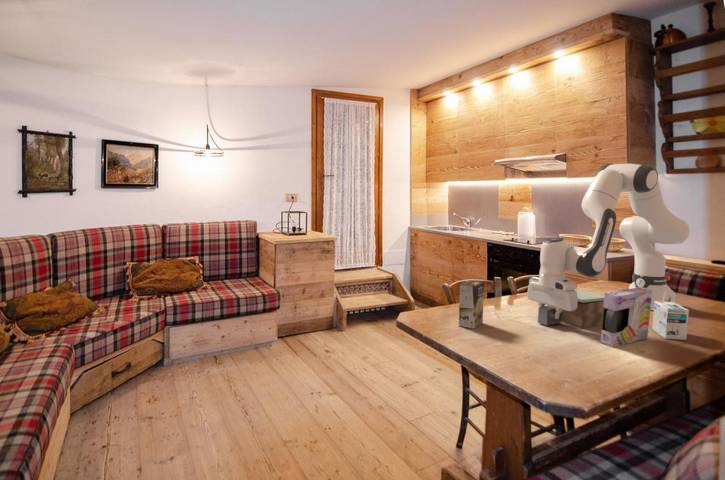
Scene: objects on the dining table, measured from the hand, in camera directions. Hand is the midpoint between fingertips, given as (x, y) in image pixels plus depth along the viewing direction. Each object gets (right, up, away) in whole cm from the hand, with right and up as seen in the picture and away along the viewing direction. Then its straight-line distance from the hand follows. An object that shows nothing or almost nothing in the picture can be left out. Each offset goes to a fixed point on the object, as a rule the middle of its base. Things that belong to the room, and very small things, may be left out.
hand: (550, 316), depth 164 cm
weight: (0, -2, 0) cm, 2 cm away
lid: (+14, +7, +3) cm, 16 cm away
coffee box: (-30, -3, 0) cm, 30 cm away
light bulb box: (+37, -5, -11) cm, 39 cm away
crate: (+14, -2, +4) cm, 14 cm away
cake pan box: (+17, -5, -18) cm, 25 cm away
